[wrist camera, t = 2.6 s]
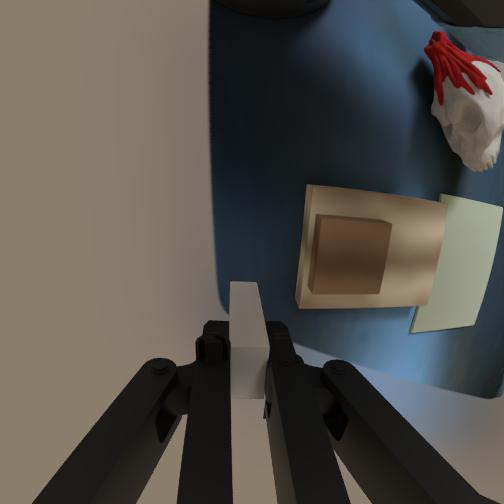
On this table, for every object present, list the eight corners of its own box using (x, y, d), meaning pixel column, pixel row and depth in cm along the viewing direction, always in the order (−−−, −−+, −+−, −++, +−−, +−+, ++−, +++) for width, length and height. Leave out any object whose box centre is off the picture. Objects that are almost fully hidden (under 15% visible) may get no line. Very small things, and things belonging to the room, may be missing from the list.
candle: (453, 175, 28) (380, 67, 26) (496, 133, 26) (434, 37, 24) (502, 175, 19) (414, 34, 17) (542, 126, 17) (469, 9, 15)
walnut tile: (315, 214, 27) (321, 217, 25) (382, 219, 27) (392, 224, 25) (307, 285, 29) (312, 294, 27) (371, 286, 29) (379, 294, 27)
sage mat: (439, 193, 29) (442, 193, 29) (500, 207, 30) (503, 207, 29) (409, 331, 34) (411, 332, 34) (472, 323, 35) (473, 324, 35)
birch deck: (306, 184, 28) (313, 186, 26) (435, 201, 29) (448, 204, 27) (294, 297, 32) (299, 308, 29) (416, 296, 33) (427, 305, 30)
